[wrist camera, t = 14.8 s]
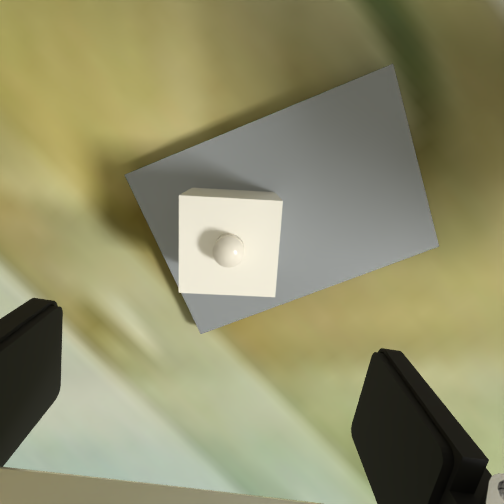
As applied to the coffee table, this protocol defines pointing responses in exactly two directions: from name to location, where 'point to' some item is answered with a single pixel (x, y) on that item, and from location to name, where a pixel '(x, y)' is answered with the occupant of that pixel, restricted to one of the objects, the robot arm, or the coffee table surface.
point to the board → (306, 191)
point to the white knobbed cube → (229, 242)
